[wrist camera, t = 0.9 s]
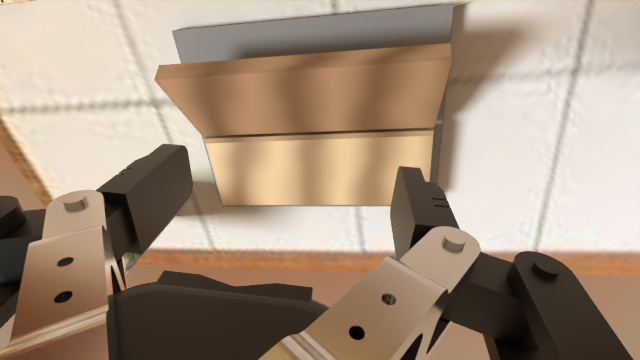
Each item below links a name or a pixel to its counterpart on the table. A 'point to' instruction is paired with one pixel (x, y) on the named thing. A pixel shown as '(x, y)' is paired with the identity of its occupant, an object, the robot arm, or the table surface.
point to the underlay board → (322, 44)
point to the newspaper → (12, 1)
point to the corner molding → (455, 2)
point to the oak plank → (316, 165)
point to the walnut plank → (312, 91)
